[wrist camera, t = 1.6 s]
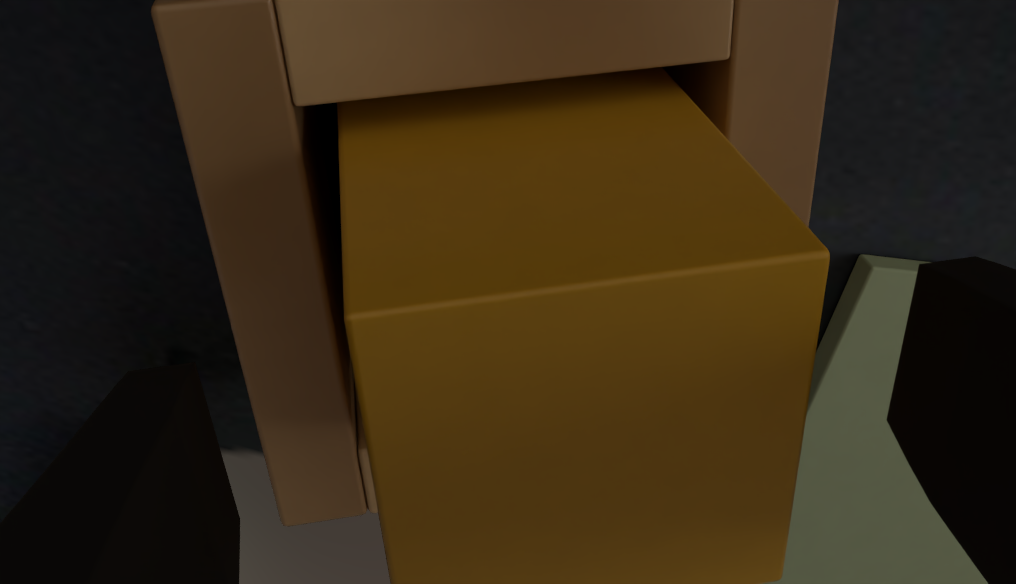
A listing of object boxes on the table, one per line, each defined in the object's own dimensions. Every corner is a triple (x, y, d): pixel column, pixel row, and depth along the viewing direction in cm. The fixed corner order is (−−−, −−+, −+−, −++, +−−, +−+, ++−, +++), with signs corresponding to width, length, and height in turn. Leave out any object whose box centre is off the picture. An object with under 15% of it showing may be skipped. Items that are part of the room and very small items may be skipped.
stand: (289, 377, 16) (281, 529, 13) (190, -69, 12) (147, 5, 9) (700, 320, 17) (780, 452, 14) (730, -117, 13) (850, -62, 10)
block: (372, 285, 15) (401, 649, 9) (334, 41, 13) (343, 316, 7) (613, 254, 16) (784, 582, 10) (614, 12, 14) (834, 251, 8)
